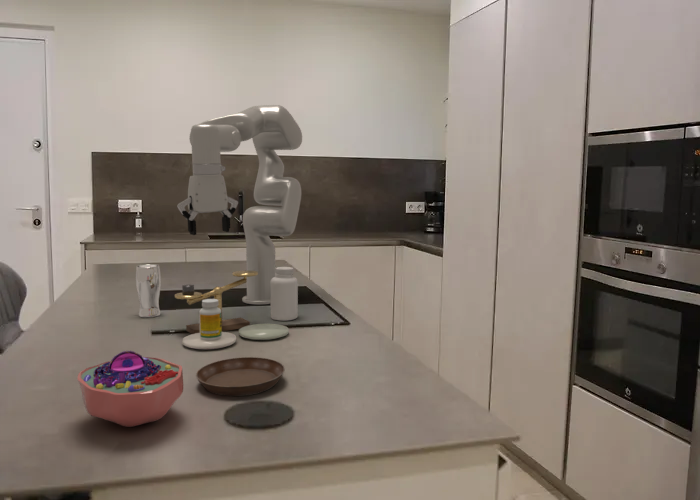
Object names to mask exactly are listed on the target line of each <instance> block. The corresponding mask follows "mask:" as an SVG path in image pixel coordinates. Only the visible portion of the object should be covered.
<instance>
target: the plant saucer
mask: <svg viewBox="0 0 700 500" xmlns="http://www.w3.org/2000/svg"><path fill="white" fill-rule="evenodd" d="M285 369H286V368H285V366H284V365H283V364H282V362H280V361H277V360H274V359H269V358H264V357H256V356H255V357H253V356H250V357H247V356H245V357H233V358H225V359H222V360H217V361H214V362H210V363H209V364H206V365H204V366H202V367H201V368H199V369H198V370H197V371H196V373H195V377H196V379H197V381H198V382H199V383H200V384H201V385H202V387H203V388H205V390H207V392H208V391H209V392H210V393H213V394H215V395H219V396H220V395H221V396H225V397H242V396H243V397H244V396H250V395H255V394H259V393H263V392H265V391H268V390H270V389H271V388H273V387H275V386H276V384H278V382H279V380H280V379H281V378H282V377H283V375H284V373H285Z"/></svg>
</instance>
